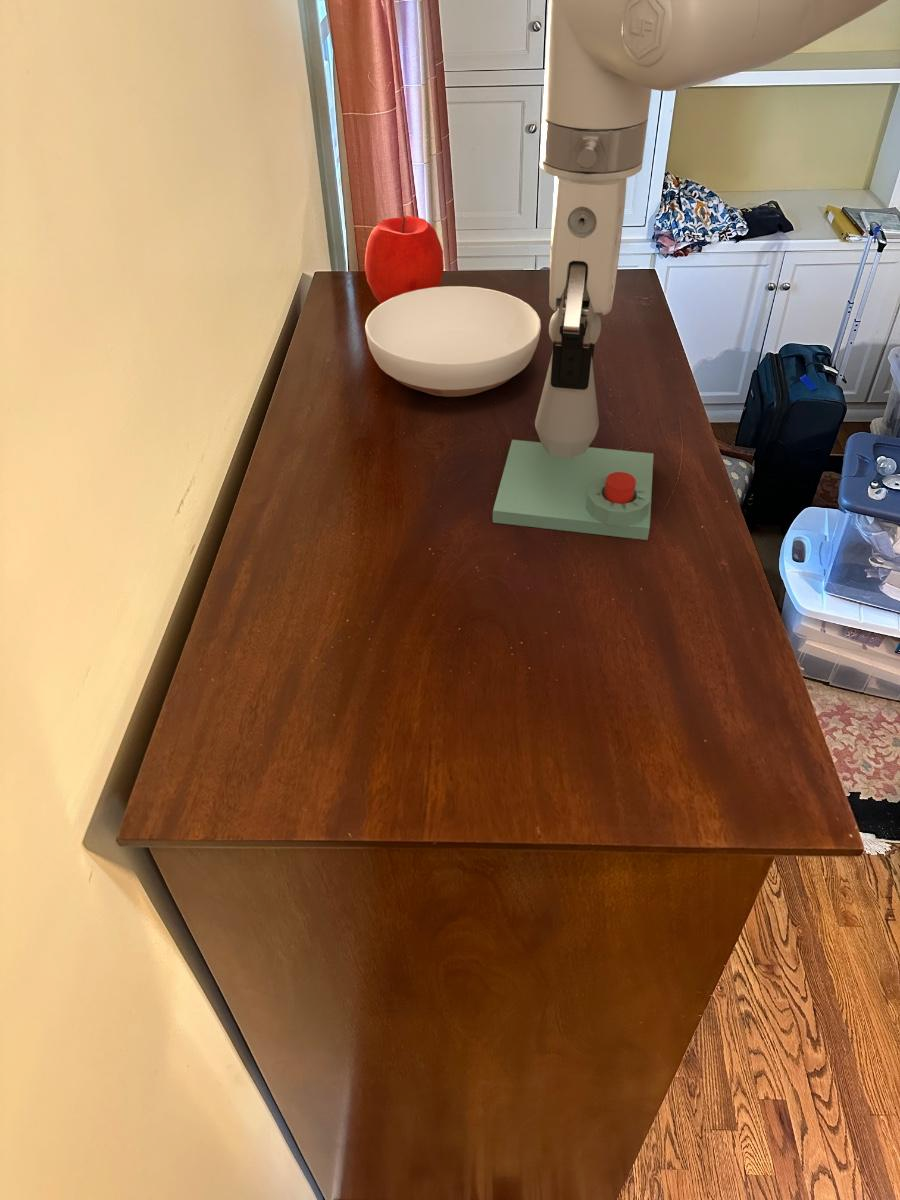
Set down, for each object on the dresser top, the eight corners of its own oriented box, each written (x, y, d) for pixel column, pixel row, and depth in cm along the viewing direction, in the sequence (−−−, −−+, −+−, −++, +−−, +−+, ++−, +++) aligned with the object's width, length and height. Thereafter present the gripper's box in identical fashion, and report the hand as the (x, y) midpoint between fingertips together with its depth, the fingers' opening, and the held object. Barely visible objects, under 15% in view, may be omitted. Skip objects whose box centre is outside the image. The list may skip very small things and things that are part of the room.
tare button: (634, 489, 78) (636, 473, 77) (632, 506, 76) (635, 490, 75) (605, 486, 78) (607, 470, 77) (603, 503, 76) (605, 486, 75)
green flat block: (651, 465, 85) (656, 439, 83) (647, 542, 76) (652, 515, 74) (511, 451, 87) (512, 425, 85) (492, 524, 79) (492, 497, 77)
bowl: (337, 365, 101) (331, 315, 97) (468, 320, 109) (468, 272, 105) (434, 436, 90) (433, 383, 85) (573, 379, 98) (578, 328, 94)
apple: (409, 339, 106) (404, 238, 97) (351, 317, 110) (342, 219, 102) (460, 311, 111) (459, 213, 103) (403, 292, 116) (398, 197, 108)
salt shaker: (595, 431, 82) (611, 299, 73) (597, 464, 78) (613, 329, 69) (534, 428, 83) (542, 297, 74) (532, 462, 79) (540, 326, 70)
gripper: (640, 183, 56) (609, 427, 69) (648, 116, 68) (620, 333, 81) (526, 178, 57) (515, 418, 70) (554, 112, 70) (541, 327, 82)
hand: (572, 370), depth 75 cm, fingers closed on salt shaker, 4 cm apart
